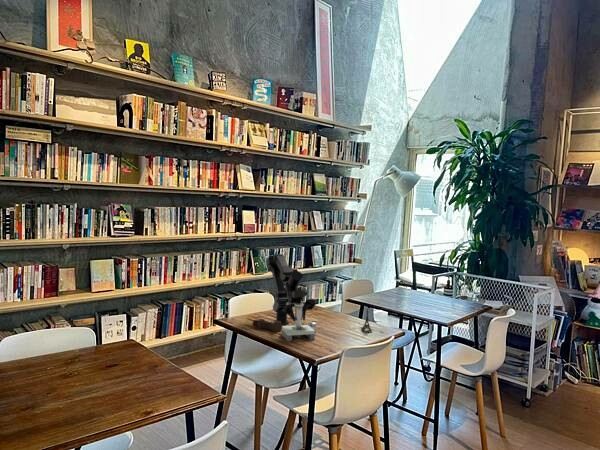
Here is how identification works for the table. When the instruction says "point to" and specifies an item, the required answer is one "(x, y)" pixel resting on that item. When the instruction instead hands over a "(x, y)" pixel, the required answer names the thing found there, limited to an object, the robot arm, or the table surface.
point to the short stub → (313, 325)
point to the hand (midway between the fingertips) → (299, 320)
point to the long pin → (298, 317)
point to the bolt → (268, 325)
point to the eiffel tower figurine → (366, 326)
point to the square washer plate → (297, 332)
